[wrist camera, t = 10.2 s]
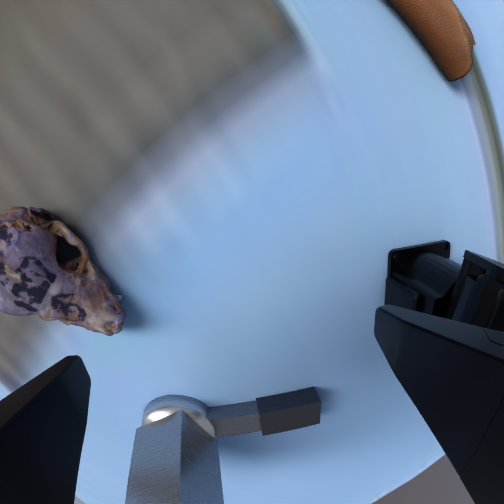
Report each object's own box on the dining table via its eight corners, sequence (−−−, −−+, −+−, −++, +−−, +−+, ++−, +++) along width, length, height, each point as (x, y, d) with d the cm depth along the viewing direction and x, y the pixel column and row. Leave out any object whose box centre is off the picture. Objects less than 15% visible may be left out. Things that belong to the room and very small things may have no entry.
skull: (149, 289, 22) (132, 333, 16) (96, 352, 22) (73, 401, 17) (31, 180, 18) (-19, 190, 12) (-10, 256, 19) (-54, 283, 13)
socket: (181, 409, 22) (180, 516, 13) (217, 440, 24) (228, 538, 14) (136, 428, 22) (122, 526, 13) (173, 457, 24) (172, 548, 15)
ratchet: (313, 372, 25) (330, 405, 21) (313, 420, 27) (326, 452, 23) (134, 397, 24) (126, 433, 20) (155, 442, 26) (152, 476, 22)
